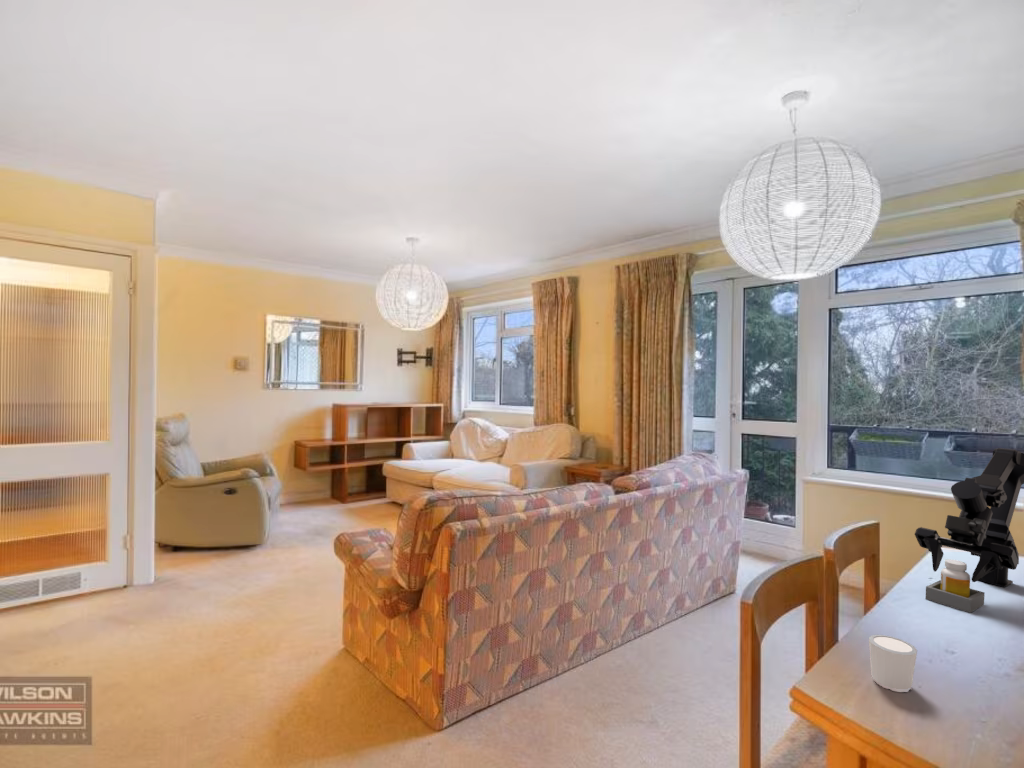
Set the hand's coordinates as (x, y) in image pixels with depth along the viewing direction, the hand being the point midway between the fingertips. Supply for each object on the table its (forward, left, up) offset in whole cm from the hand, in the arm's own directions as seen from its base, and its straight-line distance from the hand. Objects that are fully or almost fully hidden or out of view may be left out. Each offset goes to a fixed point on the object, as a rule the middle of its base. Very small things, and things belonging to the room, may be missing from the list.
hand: (953, 575), depth 125 cm
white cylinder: (+52, +8, -7) cm, 53 cm away
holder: (-1, 0, -7) cm, 7 cm away
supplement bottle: (-1, 0, -7) cm, 7 cm away
